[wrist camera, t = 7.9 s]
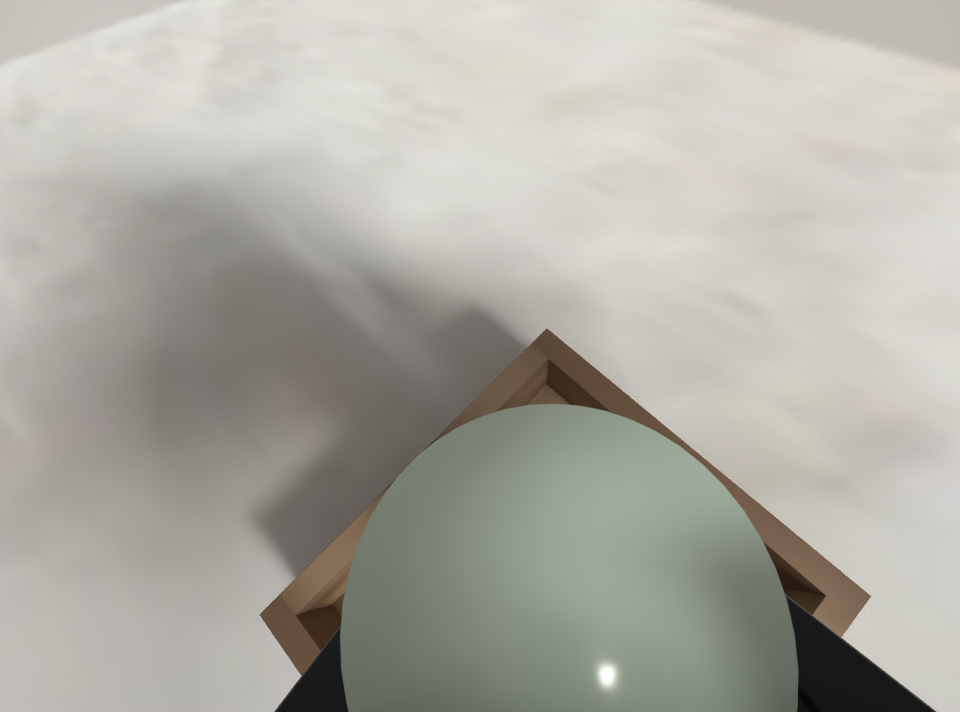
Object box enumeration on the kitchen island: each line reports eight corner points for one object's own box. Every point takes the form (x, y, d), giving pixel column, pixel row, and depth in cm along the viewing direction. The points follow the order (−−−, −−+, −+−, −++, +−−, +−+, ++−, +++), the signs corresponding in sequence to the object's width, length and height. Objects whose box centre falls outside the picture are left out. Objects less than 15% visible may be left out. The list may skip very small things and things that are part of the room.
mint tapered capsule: (590, 693, 13) (721, 1063, 4) (443, 611, 14) (257, 737, 5) (645, 532, 14) (844, 504, 5) (505, 469, 15) (455, 348, 6)
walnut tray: (548, 924, 14) (551, 1038, 11) (309, 601, 18) (259, 614, 15) (804, 585, 17) (871, 596, 13) (545, 362, 20) (546, 328, 17)
